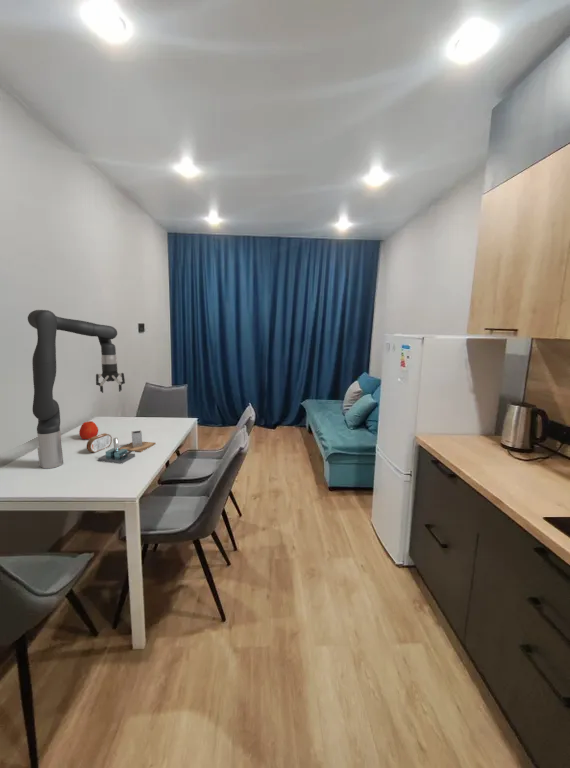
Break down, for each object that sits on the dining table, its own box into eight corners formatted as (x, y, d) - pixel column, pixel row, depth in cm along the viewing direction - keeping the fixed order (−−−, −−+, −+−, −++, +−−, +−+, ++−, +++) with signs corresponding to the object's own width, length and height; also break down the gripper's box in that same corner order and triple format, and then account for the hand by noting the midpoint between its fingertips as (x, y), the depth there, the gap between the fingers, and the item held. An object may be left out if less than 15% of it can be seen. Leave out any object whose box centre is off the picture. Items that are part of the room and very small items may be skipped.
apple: (97, 439, 211) (96, 422, 209) (78, 441, 207) (76, 424, 206) (99, 434, 220) (98, 418, 219) (81, 436, 217) (79, 420, 215)
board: (118, 450, 193) (118, 448, 193) (134, 442, 206) (134, 440, 206) (140, 452, 190) (140, 450, 190) (155, 444, 203) (155, 442, 203)
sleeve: (132, 447, 195) (131, 433, 193) (132, 445, 199) (131, 431, 198) (142, 446, 197) (141, 432, 196) (141, 443, 201) (140, 430, 200)
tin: (109, 445, 201) (108, 431, 200) (113, 446, 200) (112, 431, 199) (86, 454, 187) (85, 439, 186) (91, 455, 186) (89, 439, 185)
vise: (98, 461, 177) (96, 440, 176) (112, 454, 187) (110, 434, 185) (122, 463, 174) (120, 442, 172) (135, 456, 184) (133, 436, 182)
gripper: (94, 364, 184) (96, 394, 186) (123, 363, 190) (125, 392, 193) (94, 362, 190) (96, 391, 193) (123, 361, 197) (125, 390, 199)
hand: (111, 392), depth 193 cm, fingers open, 8 cm apart
